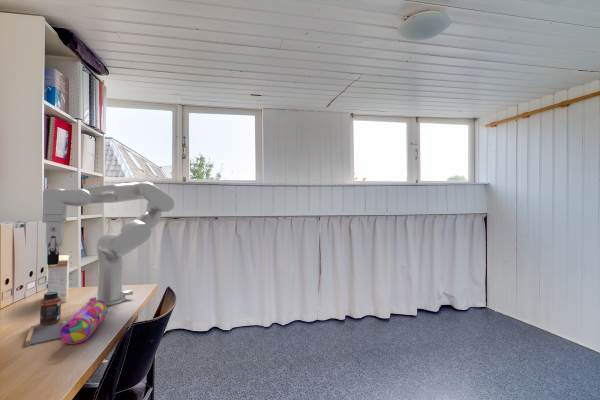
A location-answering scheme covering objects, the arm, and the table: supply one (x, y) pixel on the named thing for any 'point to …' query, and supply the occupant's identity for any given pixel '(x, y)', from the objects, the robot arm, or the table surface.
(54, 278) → the coffeecake box
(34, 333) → the cradle mat
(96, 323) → the pencil case
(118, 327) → the table surface
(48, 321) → the supplement bottle
